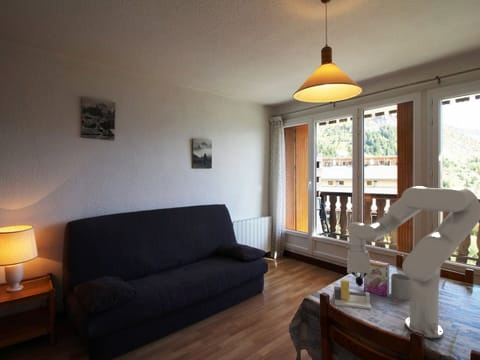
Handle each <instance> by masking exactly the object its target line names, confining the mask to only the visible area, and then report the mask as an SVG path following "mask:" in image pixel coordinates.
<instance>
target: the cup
mask: <svg viewBox="0 0 480 360" xmlns="http://www.w3.org/2000/svg"><path fill="white" fill-rule="evenodd" d="M390 295H391V296H392V297H393V298H395V299H398V300H400V301H401V300H402V301H410V279H409V278H408V277H407V276H406V275H405V274H404V273H403V274H402V273H392V274H391V277H390Z"/></svg>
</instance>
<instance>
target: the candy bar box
mask: <svg viewBox="0 0 480 360" xmlns="http://www.w3.org/2000/svg"><path fill="white" fill-rule="evenodd" d="M370 265H371V274H369V275H366V276H365V277H364V278H363V290H364V291H365V292H369V293H371V294H375V295H378V296H382V297H384V298H387V297H388V296H389V295H390V263H387V262H382V261H380V260H379V261H377V260H374V259H370Z"/></svg>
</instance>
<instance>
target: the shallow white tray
mask: <svg viewBox="0 0 480 360" xmlns="http://www.w3.org/2000/svg"><path fill="white" fill-rule="evenodd" d="M333 298H334V305H335V306H340V307H341V306H344V307H351V308H359V309H367V310H372V309H373V307H372V305H371V295H370V292H368V291H365V293H364V292H355V291H350V299H343V298H341V289H340V286H337V285H334V287H333Z"/></svg>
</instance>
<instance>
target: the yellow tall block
mask: <svg viewBox="0 0 480 360" xmlns="http://www.w3.org/2000/svg"><path fill="white" fill-rule="evenodd" d="M339 287H340V289H341V298H343V299H350V292H351V290H350V280H348V279H340V286H339Z"/></svg>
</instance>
